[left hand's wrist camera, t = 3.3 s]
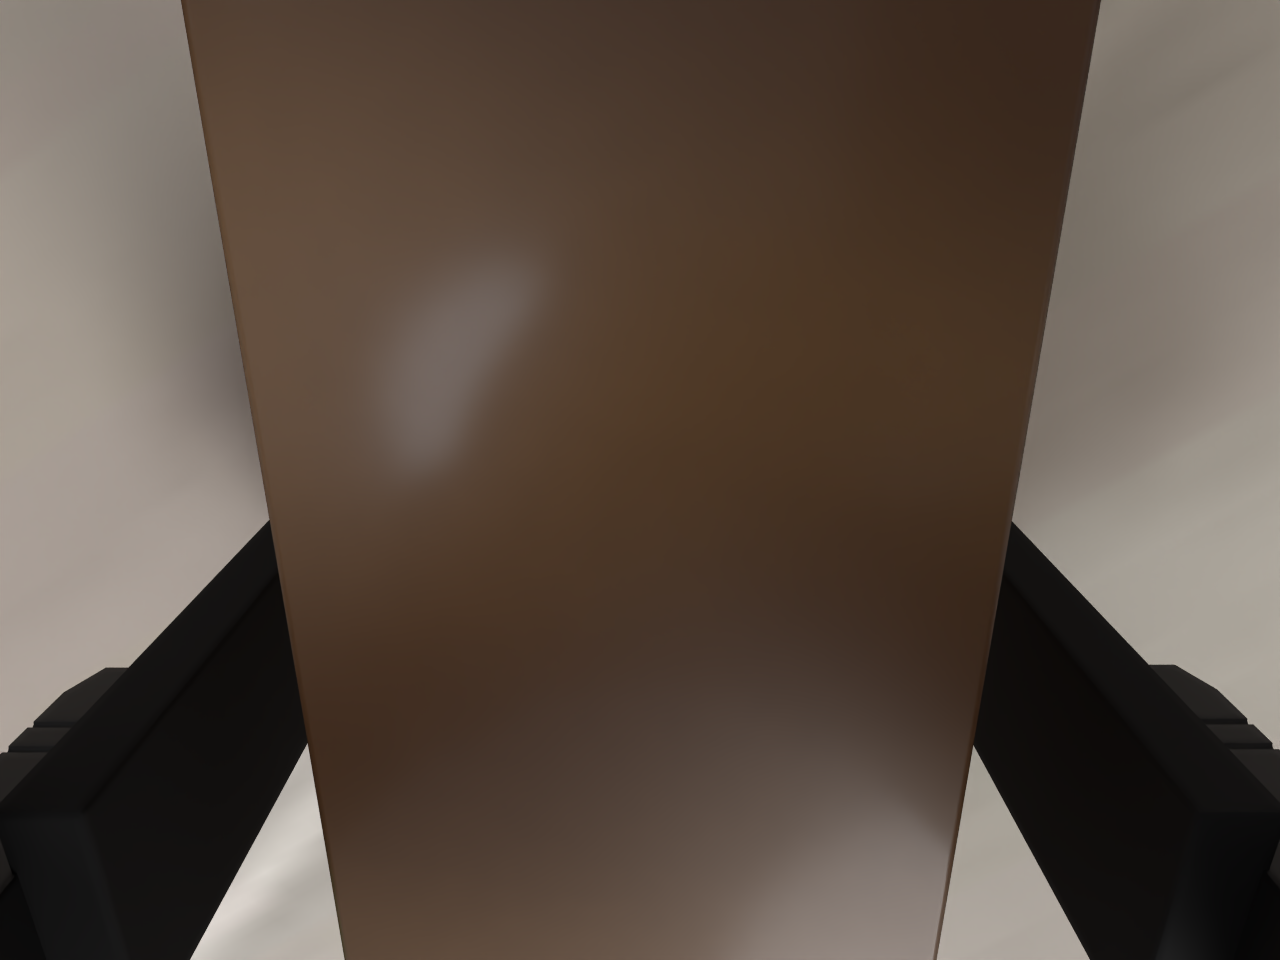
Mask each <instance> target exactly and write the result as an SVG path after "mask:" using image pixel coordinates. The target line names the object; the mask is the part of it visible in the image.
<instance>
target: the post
mask: <svg viewBox="0 0 1280 960" xmlns="http://www.w3.org/2000/svg"><path fill="white" fill-rule="evenodd" d="M1100 2H1101V0H181V3H182V9H183V15H184V21H185V27H186V33H187V38H188V44H189V50H190V56H191V62H192V68H193V74H194V79H195V85H196V91H197V97H198V103H199V109H200V115H201V120H202V126H203V132H204V138H205V144H206V150H207V156H208V161H209V167H210V173H211V179H212V185H213V191H214V197H215V202H216V208H217V214H218V220H219V226H220V232H221V238H222V243H223V249H224V255H225V261H226V267H227V273H228V279H229V285H230V290H231V296H232V302H233V308H234V314H235V320H236V326H237V331H238V337H239V343H240V349H241V355H242V361H243V367H244V372H245V378H246V384H247V390H248V396H249V402H250V408H251V413H252V419H253V425H254V431H255V437H256V443H257V449H258V454H259V460H260V466H261V472H262V478H263V484H264V490H265V495H266V501H267V507H268V513H269V519H270V525H271V531H272V536H273V542H274V548H275V554H276V560H277V566H278V572H279V577H280V583H281V589H282V595H283V601H284V607H285V613H286V618H287V624H288V630H289V636H290V642H291V648H292V654H293V659H294V665H295V671H296V677H297V683H298V689H299V695H300V700H301V706H302V712H303V718H304V724H305V730H306V736H307V741H308V747H309V753H310V759H311V765H312V771H313V777H314V782H315V788H316V794H317V800H318V806H319V812H320V818H321V824H322V829H323V835H324V841H325V847H326V853H327V859H328V865H329V870H330V876H331V882H332V888H333V894H334V900H335V906H336V911H337V917H338V923H339V929H340V935H341V941H342V947H343V952H344V958H345V960H937V954H938V948H939V942H940V936H941V930H942V925H943V919H944V913H945V907H946V901H947V895H948V890H949V884H950V878H951V872H952V866H953V860H954V855H955V849H956V843H957V837H958V831H959V825H960V819H961V814H962V808H963V802H964V796H965V790H966V784H967V779H968V773H969V767H970V761H971V755H972V749H973V744H974V738H975V732H976V726H977V720H978V714H979V709H980V703H981V697H982V691H983V685H984V679H985V674H986V668H987V662H988V656H989V650H990V644H991V639H992V633H993V627H994V621H995V615H996V609H997V604H998V598H999V592H1000V586H1001V580H1002V574H1003V569H1004V563H1005V557H1006V551H1007V545H1008V539H1009V534H1010V528H1011V522H1012V516H1013V510H1014V504H1015V498H1016V493H1017V487H1018V481H1019V475H1020V469H1021V463H1022V458H1023V452H1024V446H1025V440H1026V434H1027V428H1028V423H1029V417H1030V411H1031V405H1032V399H1033V393H1034V388H1035V382H1036V376H1037V370H1038V364H1039V358H1040V353H1041V347H1042V341H1043V335H1044V329H1045V323H1046V318H1047V312H1048V306H1049V300H1050V294H1051V288H1052V283H1053V277H1054V271H1055V265H1056V259H1057V253H1058V248H1059V242H1060V236H1061V230H1062V224H1063V218H1064V213H1065V207H1066V201H1067V195H1068V189H1069V183H1070V177H1071V172H1072V166H1073V160H1074V154H1075V148H1076V142H1077V137H1078V131H1079V125H1080V119H1081V113H1082V107H1083V102H1084V96H1085V90H1086V84H1087V78H1088V72H1089V67H1090V61H1091V55H1092V49H1093V43H1094V37H1095V32H1096V26H1097V20H1098V14H1099V8H1100Z"/></svg>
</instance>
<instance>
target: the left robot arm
mask: <svg viewBox="0 0 1280 960" xmlns="http://www.w3.org/2000/svg"><path fill="white" fill-rule="evenodd" d="M307 743H308V741H307V736H306V730H305V724H304V718H303V712H302V706H301V700H300V695H299V689H298V683H297V677H296V671H295V665H294V659H293V654H292V648H291V642H290V636H289V630H288V624H287V618H286V613H285V607H284V601H283V595H282V589H281V583H280V577H279V572H278V566H277V560H276V554H275V548H274V542H273V536H272V531H271V525H270V520H269V521H268V522H267V523H266V524H265V525H264V526H263V527H262V528H261V529H260V530H259V531H258V532H257V533H256V534H255V536H254V537H253V538H252V539H251V540H250V541H249V542H248V543H247V544H246V545H245V546H244V547H243V548H242V549H241V550H240V551H239V552H238V553H237V554H236V555H235V556H234V558H233V559H232V560H231V561H230V562H229V563H228V564H227V565H226V566H225V567H224V568H223V569H222V570H221V571H220V572H219V573H218V574H217V575H216V576H215V577H214V579H213V580H212V581H211V582H210V583H209V584H208V585H207V586H206V587H205V588H204V589H203V590H202V591H201V592H200V593H199V594H198V595H197V596H196V597H195V598H194V600H193V601H192V602H191V603H190V604H189V605H188V606H187V607H186V608H185V609H184V610H183V611H182V612H181V613H180V614H179V615H178V616H177V617H176V618H175V619H174V621H173V622H172V623H171V624H170V625H169V626H168V627H167V628H166V629H165V630H164V631H163V632H162V633H161V634H160V635H159V636H158V637H157V638H156V639H155V640H154V642H153V643H152V644H151V645H150V646H149V647H148V648H147V649H146V650H145V651H144V652H143V653H142V654H141V655H140V656H139V657H138V658H137V659H136V660H135V661H134V663H133V664H132V665H131V666H130V667H129V668H105V669H103V670H101V671H99V672H98V673H96V674H94V675H93V676H91V677H89V678H88V679H86V680H84V681H82V682H81V683H79V684H77V685H76V686H74V687H72V688H71V689H69V690H67V691H65V692H64V693H63V694H62V695H61V696H60V697H59V698H58V699H57V700H55V701H54V702H53V703H52V704H51V705H50V706H49V707H48V708H47V709H46V710H45V711H44V712H43V713H42V714H41V715H40V716H39V717H38V718H37V719H36V720H35V721H34V725H33V728H27V729H26V730H25V731H24V732H23V733H22V734H21V735H20V736H19V737H18V738H16V739H15V740H14V741H13V742H12V743H11V744H10V745H9V750H8V752H7V753H1V754H0V960H190V959H191V957H192V955H193V953H194V951H195V949H196V948H197V946H198V944H199V942H200V940H201V938H202V937H203V935H204V933H205V931H206V929H207V927H208V925H209V924H210V922H211V920H212V918H213V916H214V914H215V913H216V911H217V909H218V907H219V905H220V903H221V902H222V900H223V898H224V896H225V894H226V892H227V890H228V889H229V887H230V885H231V883H232V881H233V879H234V878H235V876H236V874H237V872H238V870H239V868H240V867H241V865H242V863H243V861H244V859H245V857H246V855H247V854H248V852H249V850H250V848H251V846H252V844H253V843H254V841H255V839H256V837H257V835H258V833H259V832H260V830H261V828H262V826H263V824H264V822H265V820H266V819H267V817H268V815H269V813H270V811H271V809H272V808H273V806H274V804H275V802H276V800H277V798H278V797H279V795H280V793H281V791H282V789H283V787H284V786H285V784H286V782H287V780H288V778H289V776H290V774H291V773H292V771H293V769H294V767H295V765H296V763H297V762H298V760H299V758H300V756H301V754H302V752H303V751H304V749H305V747H306V745H307ZM973 745H974V747H975V749H976V751H977V752H978V754H979V756H980V758H981V760H982V762H983V763H984V765H985V767H986V769H987V771H988V773H989V774H990V776H991V778H992V780H993V782H994V784H995V786H996V787H997V789H998V791H999V793H1000V795H1001V797H1002V798H1003V800H1004V802H1005V804H1006V806H1007V808H1008V809H1009V811H1010V813H1011V815H1012V817H1013V819H1014V821H1015V822H1016V824H1017V826H1018V828H1019V830H1020V832H1021V833H1022V835H1023V837H1024V839H1025V841H1026V843H1027V844H1028V846H1029V848H1030V850H1031V852H1032V854H1033V856H1034V857H1035V859H1036V861H1037V863H1038V865H1039V867H1040V868H1041V870H1042V872H1043V874H1044V876H1045V878H1046V879H1047V881H1048V883H1049V885H1050V887H1051V889H1052V891H1053V892H1054V894H1055V896H1056V898H1057V900H1058V902H1059V903H1060V905H1061V907H1062V909H1063V911H1064V913H1065V914H1066V916H1067V918H1068V920H1069V922H1070V924H1071V925H1072V927H1073V929H1074V931H1075V933H1076V935H1077V937H1078V938H1079V940H1080V942H1081V944H1082V946H1083V948H1084V949H1085V951H1086V953H1087V955H1088V957H1089V959H1090V960H1280V750H1279V749H1273V747H1272V742H1271V741H1270V740H1269V739H1268V738H1267V737H1266V736H1265V735H1264V734H1263V733H1262V732H1260V731H1259V730H1258V729H1257V728H1256V727H1255V726H1254V725H1248V723H1247V718H1246V717H1245V716H1244V715H1243V714H1242V713H1241V712H1240V711H1239V710H1238V709H1237V708H1236V707H1235V706H1234V705H1233V704H1232V703H1231V702H1229V701H1228V700H1227V699H1226V698H1225V697H1224V696H1223V695H1222V694H1221V693H1220V692H1219V691H1218V690H1217V689H1215V688H1214V687H1212V686H1210V685H1208V684H1207V683H1205V682H1203V681H1202V680H1200V679H1198V678H1196V677H1195V676H1193V675H1191V674H1190V673H1188V672H1186V671H1185V670H1183V669H1181V668H1179V667H1178V666H1176V665H1148V664H1147V663H1146V661H1145V660H1144V659H1143V658H1142V657H1141V656H1140V655H1139V654H1138V653H1137V652H1136V651H1135V650H1134V649H1133V648H1132V647H1131V646H1130V645H1129V644H1128V643H1127V642H1126V640H1125V639H1124V638H1123V637H1122V636H1121V635H1120V634H1119V633H1118V632H1117V631H1116V630H1115V629H1114V628H1113V627H1112V626H1111V625H1110V624H1109V623H1108V622H1107V621H1106V619H1105V618H1104V617H1103V616H1102V615H1101V614H1100V613H1099V612H1098V611H1097V610H1096V609H1095V608H1094V607H1093V606H1092V605H1091V604H1090V603H1089V602H1088V601H1087V600H1086V598H1085V597H1084V596H1083V595H1082V594H1081V593H1080V592H1079V591H1078V590H1077V589H1076V588H1075V587H1074V586H1073V585H1072V584H1071V583H1070V582H1069V581H1068V580H1067V579H1066V578H1065V576H1064V575H1063V574H1062V573H1061V572H1060V571H1059V570H1058V569H1057V568H1056V567H1055V566H1054V565H1053V564H1052V563H1051V562H1050V561H1049V560H1048V559H1047V558H1046V557H1045V555H1044V554H1043V553H1042V552H1041V551H1040V550H1039V549H1038V548H1037V547H1036V546H1035V545H1034V544H1033V543H1032V542H1031V541H1030V540H1029V539H1028V538H1027V537H1026V536H1025V534H1024V533H1023V532H1022V531H1021V530H1020V529H1019V528H1018V527H1017V526H1016V525H1015V524H1014V523H1013V522H1011V528H1010V534H1009V539H1008V545H1007V551H1006V557H1005V563H1004V569H1003V574H1002V580H1001V586H1000V592H999V598H998V604H997V609H996V615H995V621H994V627H993V633H992V639H991V644H990V650H989V656H988V662H987V668H986V674H985V679H984V685H983V691H982V697H981V703H980V709H979V714H978V720H977V726H976V732H975V738H974V744H973Z"/></svg>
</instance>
